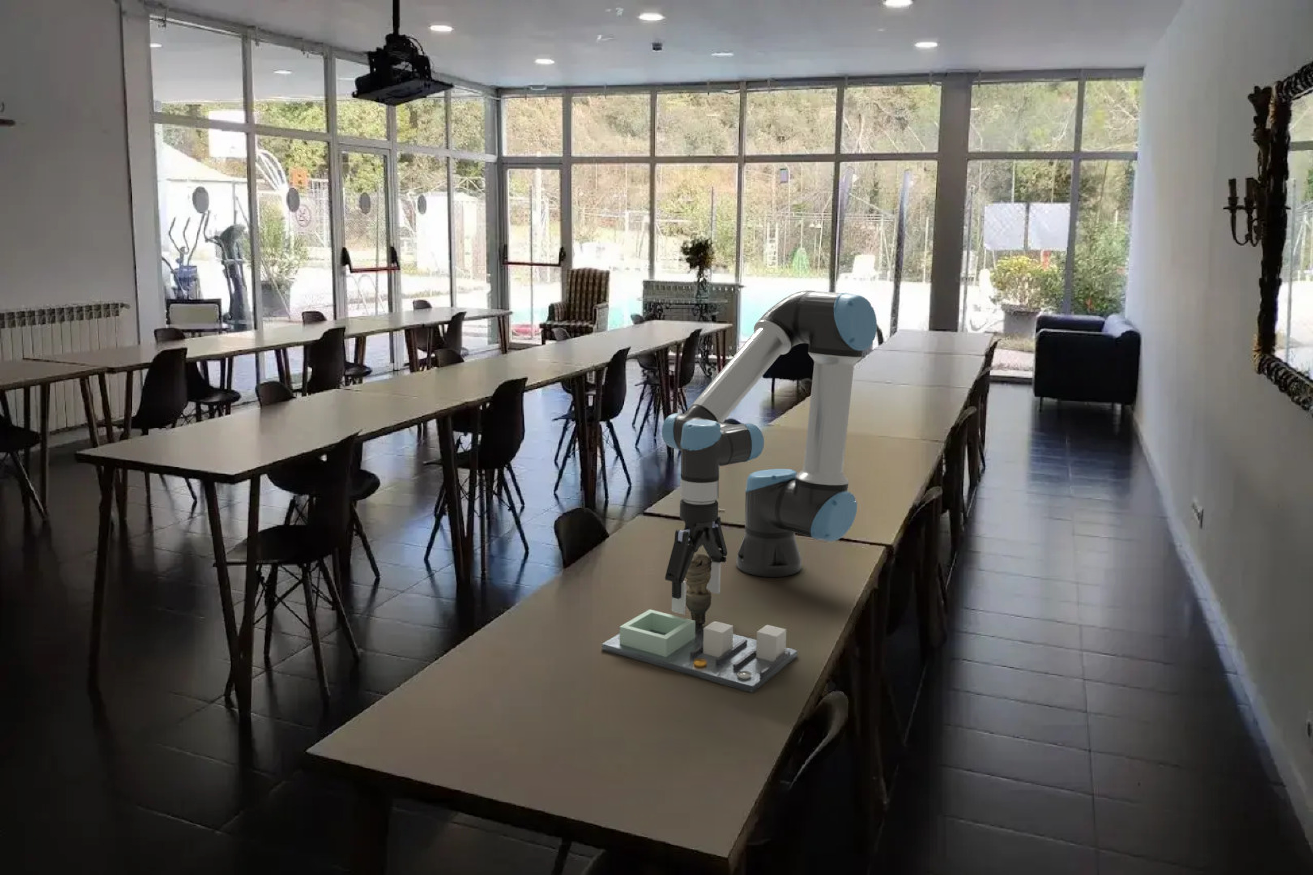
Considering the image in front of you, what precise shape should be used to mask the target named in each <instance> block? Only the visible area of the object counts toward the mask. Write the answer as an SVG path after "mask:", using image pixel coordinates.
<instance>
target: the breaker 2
mask: <svg viewBox="0 0 1313 875" xmlns="http://www.w3.org/2000/svg"><path fill="white" fill-rule="evenodd" d="M756 640H757V647H756V657H757V658H761V659H765V660H769V661H775V660H776V659H777V658H778V657H780V656H781V655H782V654H783V653H785V652H786V648H787V646H786V645H787V628H783V627H779V626H778V627H777V626H773V625H770V624H766V625H764V626H763V627H762V628H760V629H759V630H757V631H756Z"/></svg>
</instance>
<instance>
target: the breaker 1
mask: <svg viewBox="0 0 1313 875" xmlns="http://www.w3.org/2000/svg"><path fill="white" fill-rule="evenodd" d="M733 634H734V625H733V624H728V623H724V622H721V621H715V620H714V621H712V622H711V623H709V624H708V625H706V626H704V638H703V653H704V654H708V655H712V656H715V657H720V656H721V655H723V654H724V653H726V652H727V651H728V650H730V649H731V648H733Z"/></svg>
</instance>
